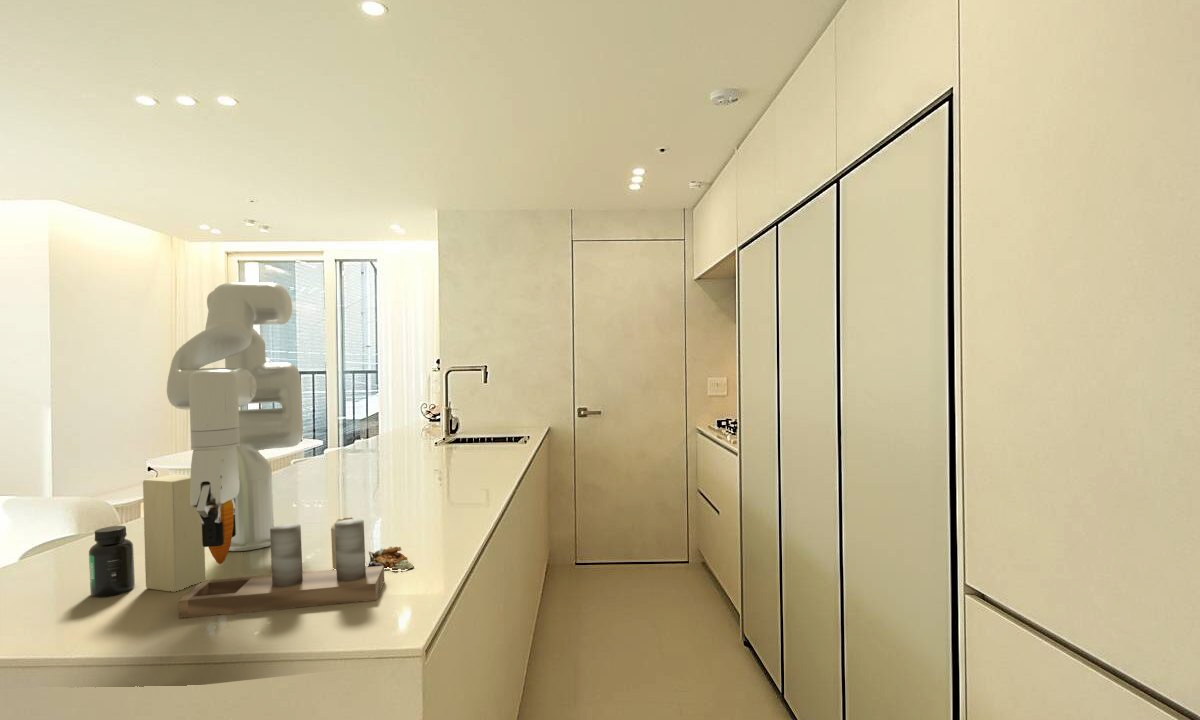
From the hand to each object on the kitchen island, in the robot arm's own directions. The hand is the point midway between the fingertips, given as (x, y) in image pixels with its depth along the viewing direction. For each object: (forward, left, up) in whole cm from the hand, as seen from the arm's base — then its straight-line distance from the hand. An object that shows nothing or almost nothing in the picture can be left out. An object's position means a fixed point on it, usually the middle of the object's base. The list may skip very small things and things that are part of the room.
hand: (219, 540), depth 117 cm
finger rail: (0, +11, -11) cm, 16 cm away
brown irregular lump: (-15, +27, -12) cm, 33 cm away
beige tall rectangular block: (-14, -13, -12) cm, 22 cm away
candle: (-16, +18, -12) cm, 27 cm away
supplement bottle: (-13, -24, -12) cm, 30 cm away
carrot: (0, 0, -4) cm, 4 cm away
